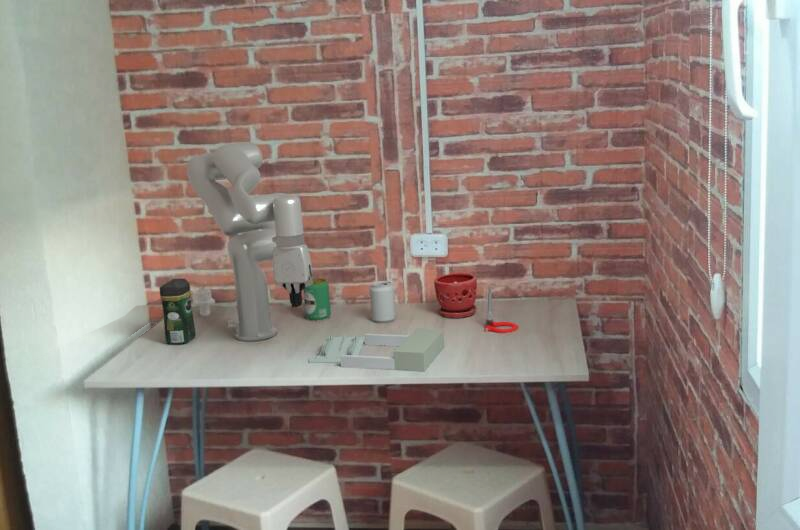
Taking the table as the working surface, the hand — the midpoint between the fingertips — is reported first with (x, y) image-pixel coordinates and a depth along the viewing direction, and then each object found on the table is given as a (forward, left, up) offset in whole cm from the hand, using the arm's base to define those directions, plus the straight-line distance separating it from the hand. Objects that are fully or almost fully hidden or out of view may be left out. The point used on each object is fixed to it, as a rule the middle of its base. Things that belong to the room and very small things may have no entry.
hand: (296, 305), depth 252 cm
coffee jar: (-42, +5, -14) cm, 44 cm away
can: (+13, +33, -14) cm, 38 cm away
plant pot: (+34, +42, -14) cm, 56 cm away
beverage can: (-9, +33, -14) cm, 37 cm away
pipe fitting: (-49, +32, -14) cm, 60 cm away
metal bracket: (+13, -1, -14) cm, 19 cm away
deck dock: (+27, 0, -14) cm, 31 cm away
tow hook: (+51, +29, -14) cm, 61 cm away
